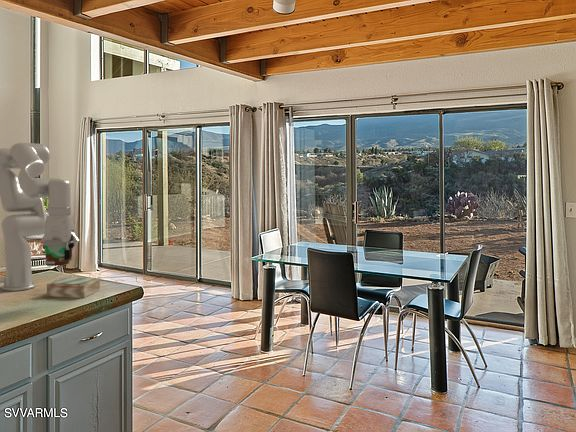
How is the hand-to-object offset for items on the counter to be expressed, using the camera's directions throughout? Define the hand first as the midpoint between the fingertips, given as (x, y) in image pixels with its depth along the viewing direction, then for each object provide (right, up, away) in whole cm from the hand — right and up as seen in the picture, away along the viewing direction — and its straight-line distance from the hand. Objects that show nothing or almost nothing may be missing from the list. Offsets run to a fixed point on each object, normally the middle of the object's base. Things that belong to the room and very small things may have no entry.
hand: (60, 258), depth 177 cm
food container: (+1, -2, 0) cm, 2 cm away
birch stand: (-2, -16, +15) cm, 22 cm away
